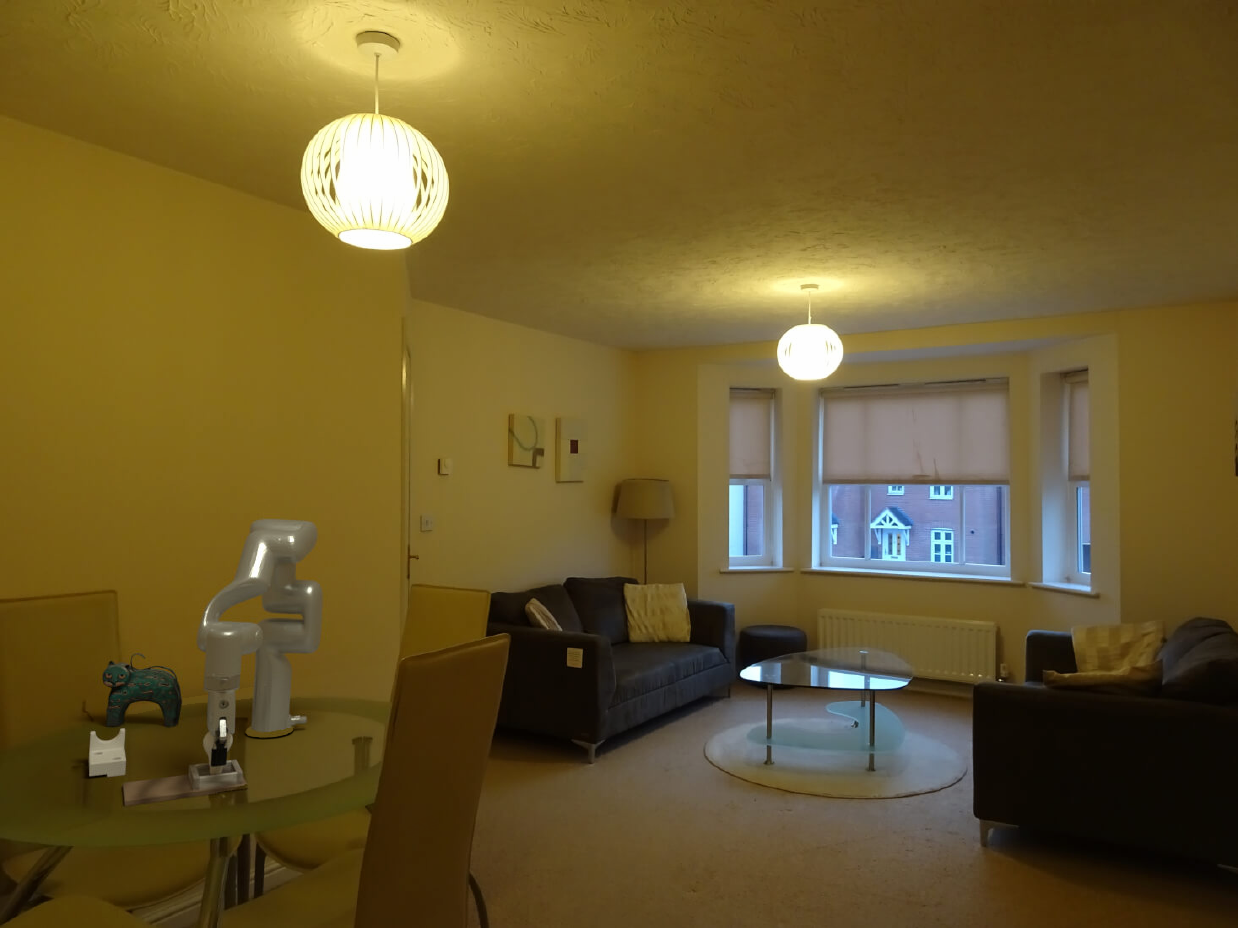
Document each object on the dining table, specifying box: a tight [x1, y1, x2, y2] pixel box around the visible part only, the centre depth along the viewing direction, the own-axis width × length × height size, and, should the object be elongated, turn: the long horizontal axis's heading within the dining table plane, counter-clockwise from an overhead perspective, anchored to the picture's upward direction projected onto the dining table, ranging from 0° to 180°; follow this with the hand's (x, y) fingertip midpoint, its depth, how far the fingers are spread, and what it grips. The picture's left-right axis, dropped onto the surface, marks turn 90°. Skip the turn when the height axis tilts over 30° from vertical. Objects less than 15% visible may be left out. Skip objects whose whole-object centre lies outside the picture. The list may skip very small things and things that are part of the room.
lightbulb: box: [202, 730, 234, 775], centre depth 191 cm, size 6×6×11 cm
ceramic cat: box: [101, 652, 183, 728], centre depth 232 cm, size 20×6×20 cm, turn 99°
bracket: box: [88, 727, 127, 778], centre depth 197 cm, size 13×7×8 cm, turn 33°
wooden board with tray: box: [122, 759, 248, 807], centre depth 188 cm, size 24×12×4 cm, turn 123°
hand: (216, 760), depth 191 cm, fingers closed on lightbulb, 5 cm apart
